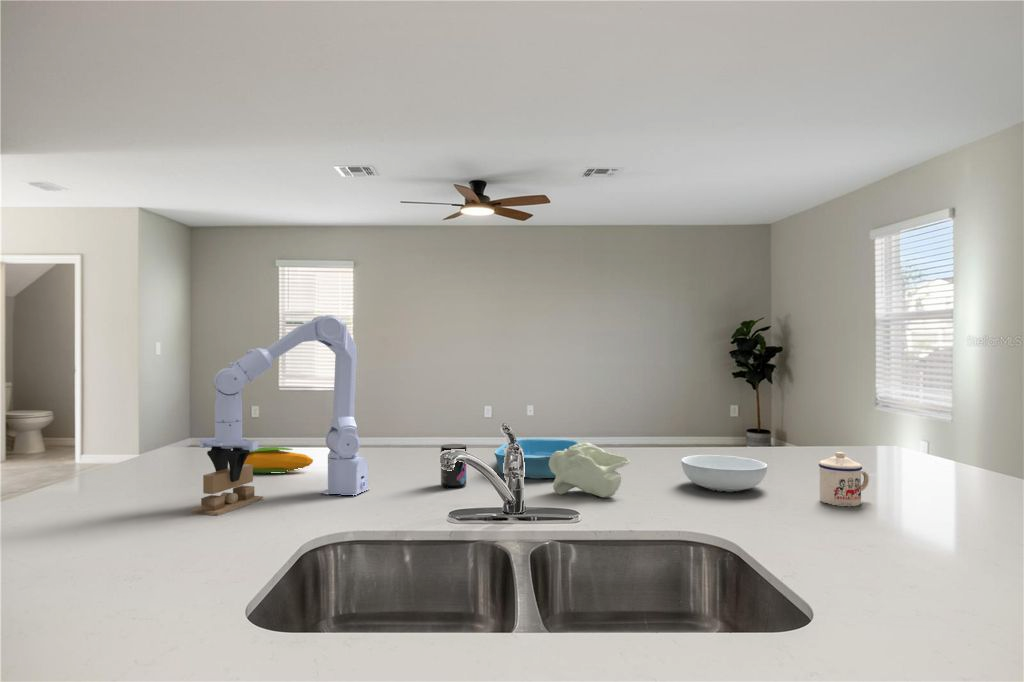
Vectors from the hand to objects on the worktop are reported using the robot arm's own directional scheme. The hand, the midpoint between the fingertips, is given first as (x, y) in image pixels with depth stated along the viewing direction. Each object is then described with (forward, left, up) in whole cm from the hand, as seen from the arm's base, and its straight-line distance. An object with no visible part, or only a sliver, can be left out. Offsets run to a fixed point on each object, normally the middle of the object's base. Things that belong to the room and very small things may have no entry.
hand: (228, 480), depth 148 cm
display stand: (0, 0, -6) cm, 6 cm away
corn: (+12, -35, -6) cm, 37 cm away
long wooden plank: (0, 0, -2) cm, 2 cm away
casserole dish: (-58, -61, -6) cm, 84 cm away
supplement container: (-42, -33, -6) cm, 54 cm away
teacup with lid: (-136, -44, -6) cm, 143 cm away
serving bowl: (-109, -51, -6) cm, 120 cm away
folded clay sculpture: (-77, -35, -6) cm, 85 cm away
